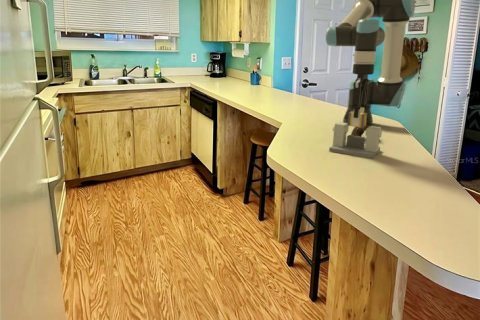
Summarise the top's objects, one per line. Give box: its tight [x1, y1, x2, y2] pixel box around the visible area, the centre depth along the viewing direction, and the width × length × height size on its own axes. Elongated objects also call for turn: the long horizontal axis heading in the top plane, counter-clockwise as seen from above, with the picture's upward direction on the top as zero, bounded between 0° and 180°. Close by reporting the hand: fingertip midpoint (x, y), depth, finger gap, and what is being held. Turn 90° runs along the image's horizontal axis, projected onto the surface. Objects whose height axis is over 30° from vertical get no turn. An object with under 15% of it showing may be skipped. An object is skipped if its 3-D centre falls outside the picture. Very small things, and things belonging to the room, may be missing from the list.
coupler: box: [347, 111, 367, 128], centre depth 143 cm, size 4×6×5 cm
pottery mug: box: [350, 125, 370, 137], centre depth 164 cm, size 12×10×8 cm
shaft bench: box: [328, 121, 383, 159], centre depth 146 cm, size 12×18×10 cm, turn 57°
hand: (357, 124), depth 144 cm, fingers closed on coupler, 4 cm apart
